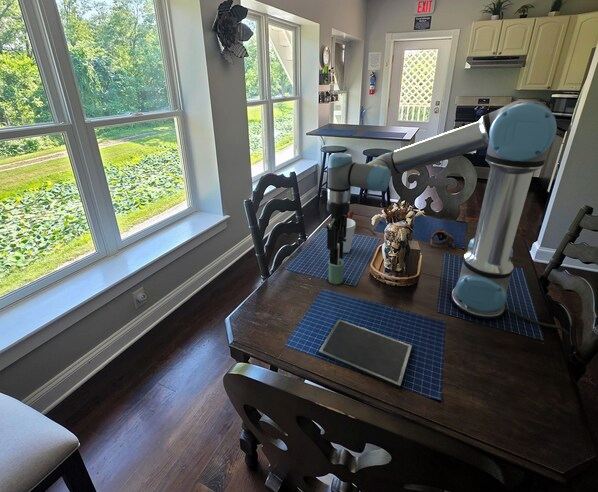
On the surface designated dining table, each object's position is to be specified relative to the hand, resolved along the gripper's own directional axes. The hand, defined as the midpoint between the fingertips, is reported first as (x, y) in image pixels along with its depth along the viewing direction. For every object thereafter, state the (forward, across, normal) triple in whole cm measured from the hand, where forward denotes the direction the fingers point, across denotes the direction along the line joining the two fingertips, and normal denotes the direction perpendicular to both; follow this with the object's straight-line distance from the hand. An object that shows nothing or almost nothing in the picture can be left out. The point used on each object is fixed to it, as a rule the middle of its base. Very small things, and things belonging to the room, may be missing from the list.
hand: (336, 260), depth 115 cm
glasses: (+9, -48, -6) cm, 49 cm away
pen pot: (+9, 0, 0) cm, 9 cm away
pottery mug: (+9, -45, +31) cm, 55 cm away
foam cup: (+9, -22, -6) cm, 24 cm away
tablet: (+9, +26, +20) cm, 34 cm away
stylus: (+8, 0, 0) cm, 8 cm away
